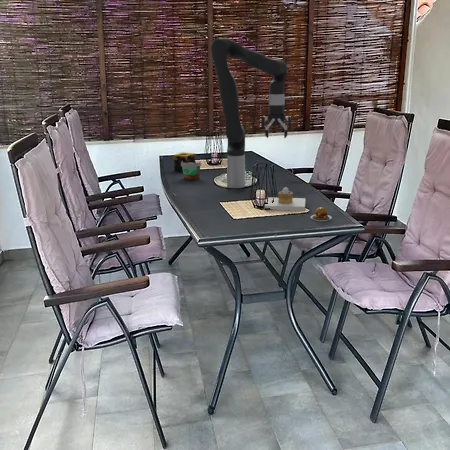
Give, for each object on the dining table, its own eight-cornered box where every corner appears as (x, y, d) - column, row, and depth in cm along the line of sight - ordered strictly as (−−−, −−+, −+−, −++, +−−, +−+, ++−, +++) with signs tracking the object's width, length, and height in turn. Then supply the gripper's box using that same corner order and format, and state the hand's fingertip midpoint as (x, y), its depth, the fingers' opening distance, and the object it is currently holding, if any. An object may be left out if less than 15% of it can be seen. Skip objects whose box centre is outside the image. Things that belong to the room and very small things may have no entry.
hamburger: (318, 213, 223) (318, 201, 222) (341, 219, 215) (341, 207, 213) (301, 220, 216) (301, 207, 214) (324, 226, 207) (324, 213, 206)
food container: (177, 180, 288) (176, 162, 285) (182, 177, 294) (181, 160, 291) (197, 181, 284) (196, 164, 281) (201, 179, 289) (201, 162, 286)
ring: (278, 203, 231) (278, 194, 229) (278, 199, 237) (278, 190, 235) (292, 204, 230) (292, 194, 228) (292, 200, 236) (292, 191, 234)
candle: (196, 169, 316) (196, 153, 313) (187, 172, 308) (186, 156, 305) (183, 167, 321) (182, 152, 318) (173, 170, 313) (173, 154, 310)
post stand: (264, 210, 229) (264, 190, 226) (267, 201, 242) (267, 183, 239) (304, 210, 226) (305, 191, 223) (305, 202, 239) (305, 184, 236)
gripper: (261, 104, 240) (261, 138, 245) (291, 104, 237) (290, 138, 243) (262, 103, 247) (262, 136, 252) (291, 103, 244) (291, 136, 250)
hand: (276, 137), depth 247 cm, fingers open, 8 cm apart
